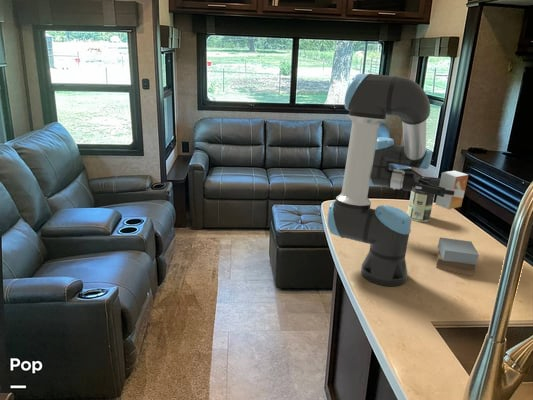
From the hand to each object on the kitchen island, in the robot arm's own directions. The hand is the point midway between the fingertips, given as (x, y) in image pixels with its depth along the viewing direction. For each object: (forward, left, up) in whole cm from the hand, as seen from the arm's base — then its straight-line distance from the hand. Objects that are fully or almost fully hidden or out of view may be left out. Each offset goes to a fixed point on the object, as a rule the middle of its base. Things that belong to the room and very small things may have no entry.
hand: (464, 190), depth 158 cm
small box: (0, +4, -7) cm, 8 cm away
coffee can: (+26, +15, -24) cm, 39 cm away
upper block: (-15, -1, -20) cm, 25 cm away
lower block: (-15, -2, -24) cm, 29 cm away
